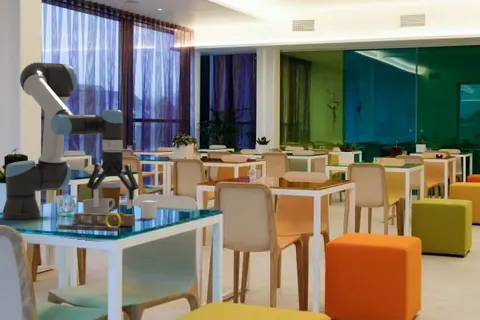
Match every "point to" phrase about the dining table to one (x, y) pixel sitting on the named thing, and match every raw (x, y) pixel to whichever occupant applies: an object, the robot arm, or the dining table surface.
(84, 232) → the dining table surface
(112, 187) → the disposable coffee cup
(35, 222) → the dining table surface
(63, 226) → the wooden tray
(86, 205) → the teacup
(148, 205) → the white tapered cup
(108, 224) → the yellow ring
